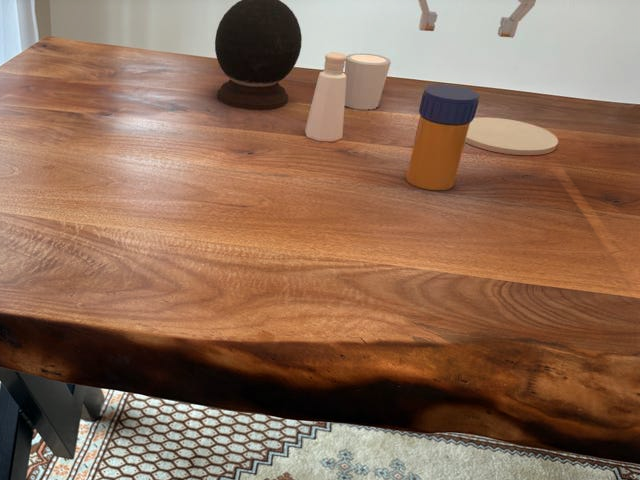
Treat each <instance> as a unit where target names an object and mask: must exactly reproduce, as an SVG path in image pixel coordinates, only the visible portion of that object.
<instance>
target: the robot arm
mask: <svg viewBox="0 0 640 480" xmlns="http://www.w3.org/2000/svg"><path fill="white" fill-rule="evenodd" d="M517 1H518V2H519V3H520V4H519V5H518V6H517V8H516V9H515V10H514V11H513V12H512V13H511V14H510V16H509V17H505V16H501V19H500V22H499V24H500V26H499V27H498V29H497V36H498V37H500V38H501V37H502V38H511V39H513V38H514V37H515V35H516V31H517V29H518V25H519V22H521V21H522V20H523V18H525V16H526V15H528V13H529V12H530V11H531V10H532V9H533V8H534V7H535V6H536V5H535V4H536V1H537V0H517ZM417 2H418V4H419V8H420V11H421V14H420V15H421V16H420V19H419V24H418V26H419V27H418V29H419V31H423V32H425V31H426V32H434V31H435V29H436V24H435V23H436V22H437V20H438V14H437V12H436V11H430V8H429V5H428V1H427V0H417Z"/></svg>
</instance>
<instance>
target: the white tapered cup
mask: <svg viewBox="0 0 640 480" xmlns="http://www.w3.org/2000/svg"><path fill="white" fill-rule="evenodd" d="M345 56H346V57H347V58H346V60H345V66H344V74H345V75H346V92H345V106H344V107H348V108H350V109H355V110H362V111H363V110H365V111H366V110H368V109H369V110H375V109H377V108H378V107H379V105H380V101H381V97H382V94H383V91H384V87H385V84H386V80H387V77H388V74H389V70H390V67H391V64H392V63H391V62H392V61H391V59H390V58H388V57H386V56H382V55H380V54H374V53H373V54H372V53H351V54H348V55H345ZM376 107H377V108H376Z"/></svg>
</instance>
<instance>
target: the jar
mask: <svg viewBox="0 0 640 480" xmlns="http://www.w3.org/2000/svg"><path fill="white" fill-rule="evenodd" d="M470 123H471V122H470ZM470 123H466V124H445V123H439V122H435V121H431V120H429V119H426V118H424V117H422V116H421V115H420V114H419V119H418V124H417V128H416V132H415V137H414V140H413V144H412V145H413V146H412V149H411V154H410V158H409V162H408V167H407V171H406V176H405V180H406V181H407V182H408V184H410V185H411V186H414V187H417V188H420V189H423V190H428V191H448V190H450V189H452V188H453V187H454V185H455V181H456V178H457V175H458V171H459V167H460V163H461V159H462V155H463V152H464V148H465V145H466V142H465V141H466V138H467V134H468V130H469V126H470Z"/></svg>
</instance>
